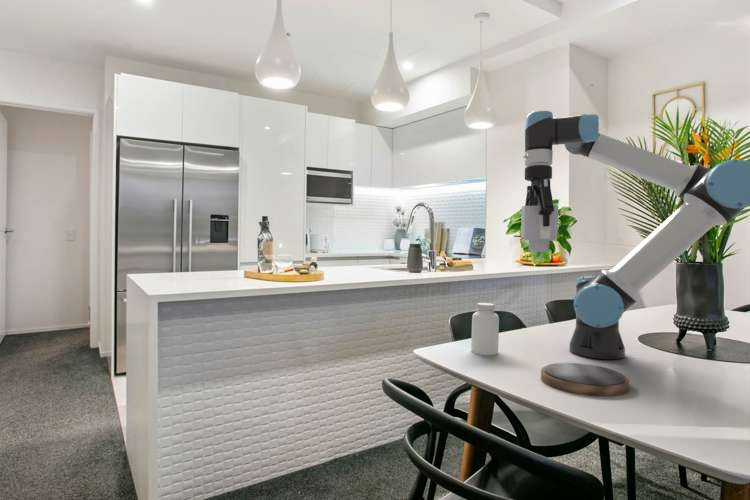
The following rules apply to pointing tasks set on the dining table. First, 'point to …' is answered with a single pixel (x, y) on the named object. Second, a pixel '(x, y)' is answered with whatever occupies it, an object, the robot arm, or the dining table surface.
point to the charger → (537, 229)
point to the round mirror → (585, 379)
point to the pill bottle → (485, 330)
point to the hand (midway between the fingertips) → (537, 239)
